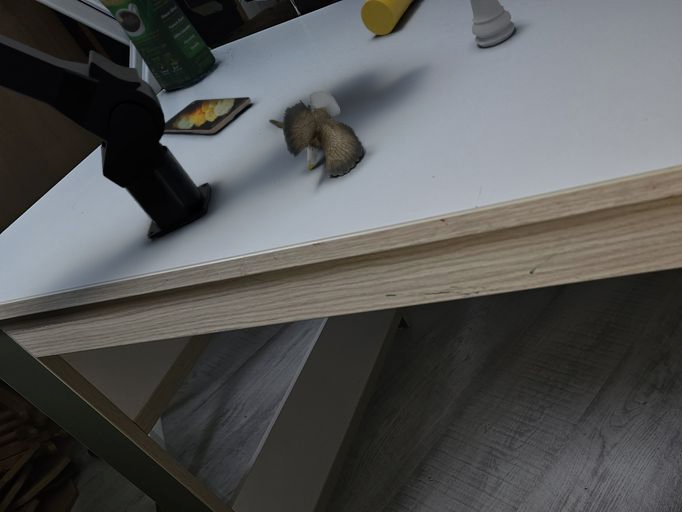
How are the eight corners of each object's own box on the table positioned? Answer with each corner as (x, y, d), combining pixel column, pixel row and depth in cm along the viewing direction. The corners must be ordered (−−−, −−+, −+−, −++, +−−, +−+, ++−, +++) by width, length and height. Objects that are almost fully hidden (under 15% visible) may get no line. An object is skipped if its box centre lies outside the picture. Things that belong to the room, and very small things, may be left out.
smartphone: (194, 99, 97) (251, 96, 87) (197, 104, 98) (254, 101, 88) (156, 129, 94) (210, 129, 84) (159, 133, 95) (214, 134, 85)
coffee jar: (226, 59, 109) (148, -66, 97) (197, 86, 104) (111, -42, 92) (186, 70, 114) (107, -47, 102) (157, 96, 109) (70, -24, 97)
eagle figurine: (269, 163, 69) (281, 176, 61) (268, 86, 66) (280, 90, 59) (346, 166, 72) (366, 179, 64) (347, 92, 69) (368, 96, 61)
